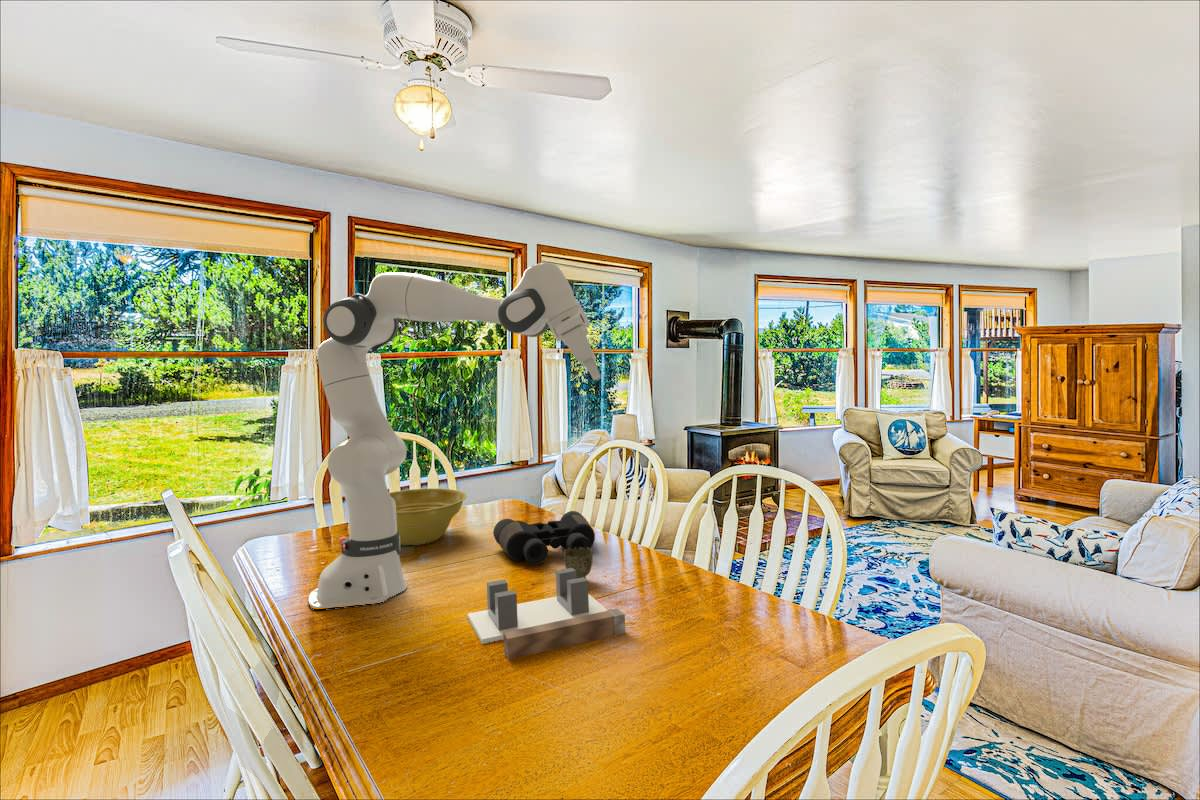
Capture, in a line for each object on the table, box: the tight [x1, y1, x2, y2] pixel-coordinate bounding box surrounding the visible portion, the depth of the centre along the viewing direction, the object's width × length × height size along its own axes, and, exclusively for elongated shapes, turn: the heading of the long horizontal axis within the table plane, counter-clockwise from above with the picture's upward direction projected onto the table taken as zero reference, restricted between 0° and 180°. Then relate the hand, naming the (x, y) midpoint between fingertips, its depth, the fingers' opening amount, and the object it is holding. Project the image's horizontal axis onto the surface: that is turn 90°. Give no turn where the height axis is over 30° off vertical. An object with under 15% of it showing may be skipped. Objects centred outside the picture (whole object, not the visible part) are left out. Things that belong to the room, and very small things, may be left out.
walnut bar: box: [503, 608, 626, 660], centre depth 121 cm, size 24×3×4 cm, turn 114°
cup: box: [562, 547, 594, 579], centre depth 154 cm, size 8×7×8 cm
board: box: [467, 568, 608, 645], centre depth 133 cm, size 28×14×8 cm, turn 114°
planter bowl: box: [389, 488, 468, 546], centre depth 196 cm, size 32×32×13 cm
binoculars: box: [492, 510, 596, 565], centre depth 178 cm, size 29×20×10 cm
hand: (598, 379), depth 141 cm, fingers open, 8 cm apart
